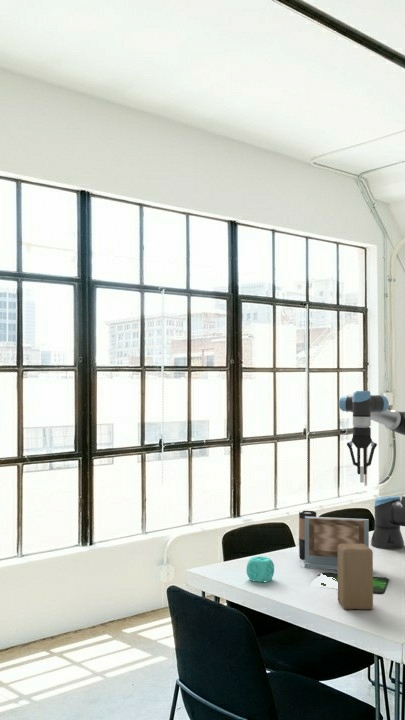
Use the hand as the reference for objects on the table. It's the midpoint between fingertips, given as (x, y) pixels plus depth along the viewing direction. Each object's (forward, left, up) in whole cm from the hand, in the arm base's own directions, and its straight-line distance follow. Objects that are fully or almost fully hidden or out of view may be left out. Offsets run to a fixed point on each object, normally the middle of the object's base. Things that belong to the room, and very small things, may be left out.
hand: (361, 482), depth 290 cm
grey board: (+13, -4, -34) cm, 37 cm away
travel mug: (+10, -21, -35) cm, 42 cm away
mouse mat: (+29, +13, -35) cm, 47 cm away
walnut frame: (+18, -1, -29) cm, 34 cm away
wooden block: (+52, +30, -35) cm, 69 cm away
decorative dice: (+51, -13, -35) cm, 63 cm away
